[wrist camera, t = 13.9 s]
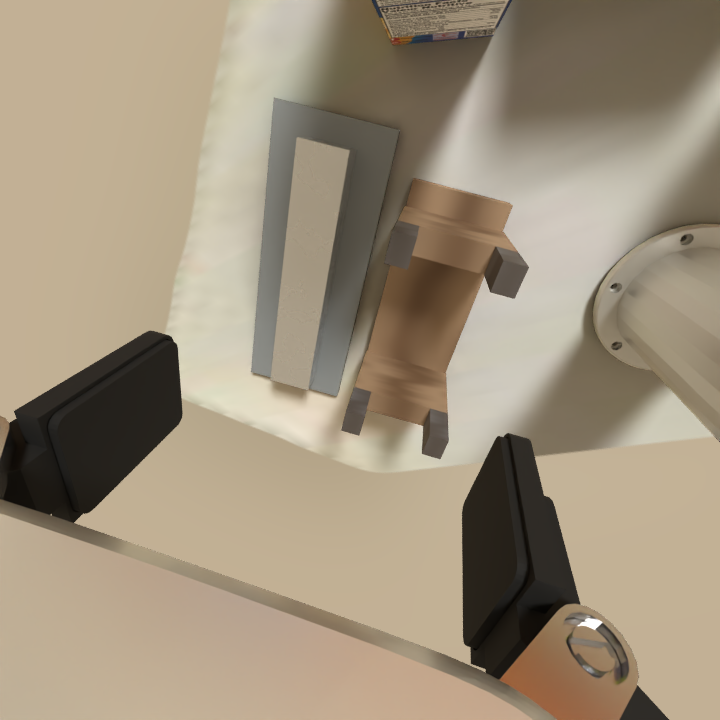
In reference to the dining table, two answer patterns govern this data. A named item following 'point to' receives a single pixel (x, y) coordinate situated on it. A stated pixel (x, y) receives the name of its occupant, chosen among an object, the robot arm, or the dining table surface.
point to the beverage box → (439, 19)
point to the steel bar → (310, 256)
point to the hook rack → (431, 304)
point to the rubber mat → (355, 239)
